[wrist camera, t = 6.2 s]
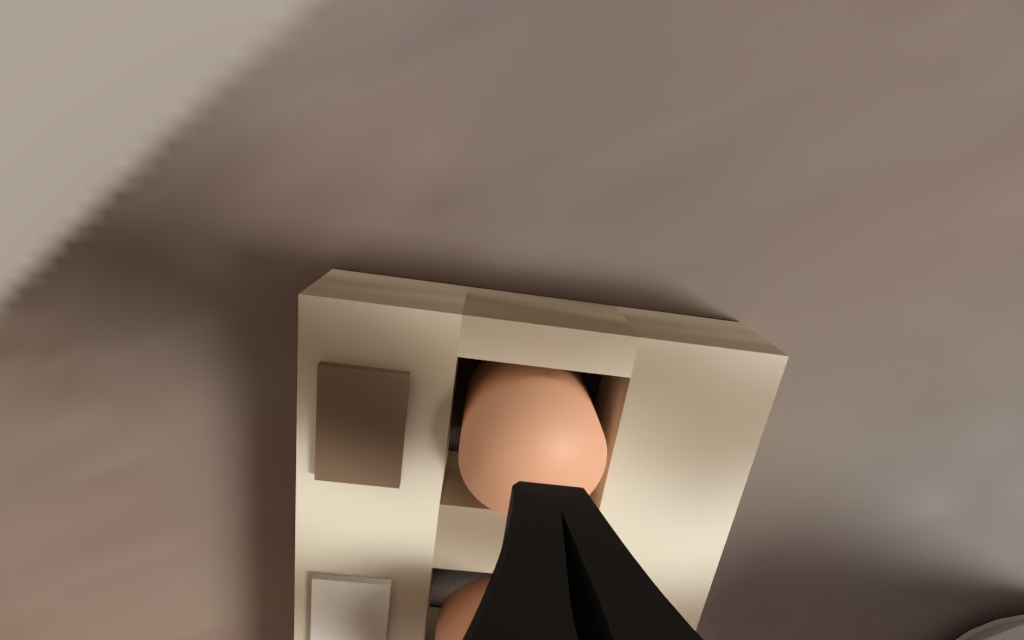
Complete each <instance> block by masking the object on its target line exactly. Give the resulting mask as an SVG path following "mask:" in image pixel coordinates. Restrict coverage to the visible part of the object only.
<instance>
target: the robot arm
mask: <svg viewBox="0 0 1024 640" xmlns="http://www.w3.org/2000/svg"><path fill="white" fill-rule="evenodd" d="M462 640H703V639H702V638H701V637H700V636H699V634H698V633H697V632H696V631H695V630H694V629H693V628H692V627H691V626H690V625H689V623H688V622H687V621H686V620H685V619H684V618H683V617H682V615H681V614H680V613H679V612H678V611H677V610H676V608H675V607H674V606H673V605H672V604H671V603H670V602H669V600H668V599H667V598H666V597H665V596H664V595H663V593H662V592H661V591H660V590H659V589H658V587H657V586H656V585H655V584H654V582H653V581H652V580H651V579H650V577H649V576H648V575H647V573H646V572H645V571H644V570H643V568H642V567H641V566H640V564H639V563H638V562H637V561H636V559H635V558H634V557H633V555H632V554H631V553H630V551H629V550H628V549H627V547H626V546H625V545H624V543H623V542H622V541H621V539H620V538H619V537H618V535H617V534H616V532H615V531H614V530H613V528H612V527H611V525H610V524H609V523H608V521H607V520H606V518H605V517H604V516H603V514H602V513H601V511H600V510H599V509H598V507H597V506H596V504H595V503H594V501H593V500H592V499H591V497H590V496H589V495H588V493H587V492H586V490H585V489H584V488H581V487H572V486H562V485H553V484H543V483H534V482H525V481H519V482H517V483H515V484H514V485H512V491H511V497H510V502H509V508H508V514H507V520H506V526H505V532H504V538H503V544H502V548H501V551H500V555H499V558H498V561H497V563H496V566H495V568H494V571H493V573H492V576H491V578H490V580H489V583H488V585H487V588H486V590H485V593H484V595H483V597H482V600H481V602H480V604H479V606H478V609H477V611H476V613H475V615H474V617H473V619H472V621H471V623H470V625H469V627H468V629H467V632H466V633H465V635H464V637H463V639H462Z"/></svg>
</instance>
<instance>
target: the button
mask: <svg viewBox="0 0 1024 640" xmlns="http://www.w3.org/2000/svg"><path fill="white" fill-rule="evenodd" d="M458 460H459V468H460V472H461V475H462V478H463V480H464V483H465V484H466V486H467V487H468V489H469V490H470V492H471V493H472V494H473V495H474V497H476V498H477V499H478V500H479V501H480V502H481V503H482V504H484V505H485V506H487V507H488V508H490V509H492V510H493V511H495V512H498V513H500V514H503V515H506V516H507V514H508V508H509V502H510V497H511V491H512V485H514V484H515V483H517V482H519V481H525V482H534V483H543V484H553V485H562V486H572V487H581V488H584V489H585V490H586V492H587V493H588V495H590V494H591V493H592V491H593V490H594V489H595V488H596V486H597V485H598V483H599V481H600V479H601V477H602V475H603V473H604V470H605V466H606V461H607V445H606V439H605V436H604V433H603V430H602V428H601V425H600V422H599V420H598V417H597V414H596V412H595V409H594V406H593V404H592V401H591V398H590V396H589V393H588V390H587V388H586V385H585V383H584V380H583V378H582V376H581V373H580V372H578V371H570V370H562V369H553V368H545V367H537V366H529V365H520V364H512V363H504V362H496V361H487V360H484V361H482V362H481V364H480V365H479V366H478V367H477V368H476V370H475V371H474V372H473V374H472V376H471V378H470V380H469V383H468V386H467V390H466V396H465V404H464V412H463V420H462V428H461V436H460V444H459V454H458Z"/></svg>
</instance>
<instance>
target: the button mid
mask: <svg viewBox="0 0 1024 640" xmlns="http://www.w3.org/2000/svg"><path fill="white" fill-rule="evenodd" d="M489 580H490V578H486V579H481V580H477V581H474V582H471V583H469V584H466V585H464V586H463V587H461V588H459V589H458V590H456V591H455V592H453V593H452V594H451V595H450V596H449V597H448V598H447V599H446V601H445V602H444V603H443V605H442V607H441V608H440V611H439V613H438V618H437V624H436V632H435V640H462V639H463V637H464V635H465V633H466V632H467V629H468V627H469V625H470V623H471V621H472V619H473V617H474V615H475V613H476V611H477V609H478V606H479V604H480V602H481V600H482V597H483V595H484V593H485V590H486V588H487V585H488V583H489Z"/></svg>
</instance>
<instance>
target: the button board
mask: <svg viewBox="0 0 1024 640" xmlns="http://www.w3.org/2000/svg"><path fill="white" fill-rule="evenodd" d="M459 357H463V358H471V359H479V360H487V361H496V362H504V363H512V364H520V365H529V366H537V367H545V368H553V369H562V370H570V371H578V372H586V373H595V374H601V379H600V383H599V388H598V392H597V397H596V402H595V406H594V409H595V412H596V414H597V417H598V420H599V422H600V425H601V428H602V430H603V433H604V436H605V439H606V445H607V461H606V466H605V470H604V473H603V475H602V477H601V479H600V481H599V483H598V485H597V486H596V488H595V489H594V490H593V491H592V493H591V494H590V495H589V496H590V497H591V499H592V500H593V501H594V503H595V504H596V506H597V507H598V509H599V510H600V511H601V513H602V514H603V516H604V517H605V518H606V520H607V521H608V523H609V524H610V525H611V527H612V528H613V530H614V531H615V532H616V534H617V535H618V537H619V538H620V539H621V541H622V542H623V543H624V545H625V546H626V547H627V549H628V550H629V551H630V553H631V554H632V555H633V557H634V558H635V559H636V561H637V562H638V563H639V564H640V566H641V567H642V568H643V570H644V571H645V572H646V573H647V575H648V576H649V577H650V579H651V580H652V581H653V582H654V584H655V585H656V586H657V587H658V589H659V590H660V591H661V592H662V593H663V595H664V596H665V597H666V598H667V599H668V600H669V602H670V603H671V604H672V605H673V606H674V607H675V608H676V610H677V611H678V612H679V613H680V614H681V615H682V617H683V618H684V619H685V620H686V621H687V622H688V623H689V625H690V626H691V627H692V628H693V629H694V630H695V631H696V628H697V625H698V622H699V619H700V617H701V614H702V611H703V608H704V605H705V602H706V599H707V596H708V593H709V590H710V587H711V584H712V581H713V578H714V575H715V572H716V569H717V566H718V563H719V560H720V558H721V555H722V552H723V549H724V546H725V543H726V540H727V537H728V534H729V531H730V528H731V525H732V522H733V519H734V516H735V513H736V510H737V507H738V504H739V502H740V499H741V496H742V493H743V490H744V487H745V484H746V481H747V478H748V475H749V472H750V469H751V466H752V463H753V460H754V457H755V454H756V451H757V448H758V446H759V443H760V440H761V437H762V434H763V431H764V428H765V425H766V422H767V419H768V416H769V413H770V410H771V407H772V404H773V401H774V398H775V395H776V392H777V390H778V387H779V384H780V381H781V378H782V375H783V372H784V369H785V366H786V363H787V360H788V357H789V356H788V355H786V354H785V353H783V352H782V351H781V350H779V349H778V348H776V347H775V346H774V345H772V344H771V343H769V342H768V341H766V340H765V339H764V338H762V337H761V336H759V335H758V334H757V333H755V332H754V331H752V330H751V329H750V328H748V327H747V326H745V325H744V324H742V323H741V322H734V321H726V320H718V319H711V318H703V317H695V316H688V315H680V314H673V313H665V312H657V311H650V310H642V309H634V308H627V307H619V306H612V305H604V304H596V303H589V302H581V301H574V300H566V299H558V298H551V297H543V296H535V295H528V294H520V293H513V292H505V291H497V290H490V289H482V288H474V287H467V286H459V285H452V284H444V283H436V282H429V281H421V280H414V279H406V278H398V277H391V276H383V275H375V274H368V273H360V272H353V271H345V270H337V269H332V270H330V271H329V272H328V273H326V274H325V275H324V276H322V277H321V278H320V279H318V280H317V281H315V282H314V283H313V284H311V285H310V286H309V287H307V288H306V289H304V290H303V291H302V292H300V293H299V294H298V361H297V441H296V521H295V601H294V640H435V632H436V624H437V618H438V613H439V611H440V608H438V607H429V606H430V598H431V589H432V581H433V573H434V568H439V569H450V570H461V571H472V572H483V573H493V571H494V568H495V566H496V563H497V561H498V558H499V555H500V551H501V548H502V544H503V538H504V532H505V526H506V520H507V516H506V515H503V514H500V513H498V512H495V511H493V510H492V509H490V508H488V507H487V506H485V505H484V504H482V503H481V502H480V501H479V500H478V499H477V498H476V497H474V495H473V494H472V493H471V492H470V490H469V489H468V487H467V486H466V484H465V483H464V480H463V478H462V475H461V472H460V468H459V460H458V454H459V451H450V450H448V448H449V439H450V431H451V423H452V415H453V406H454V398H455V390H456V381H457V373H458V365H459Z"/></svg>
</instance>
